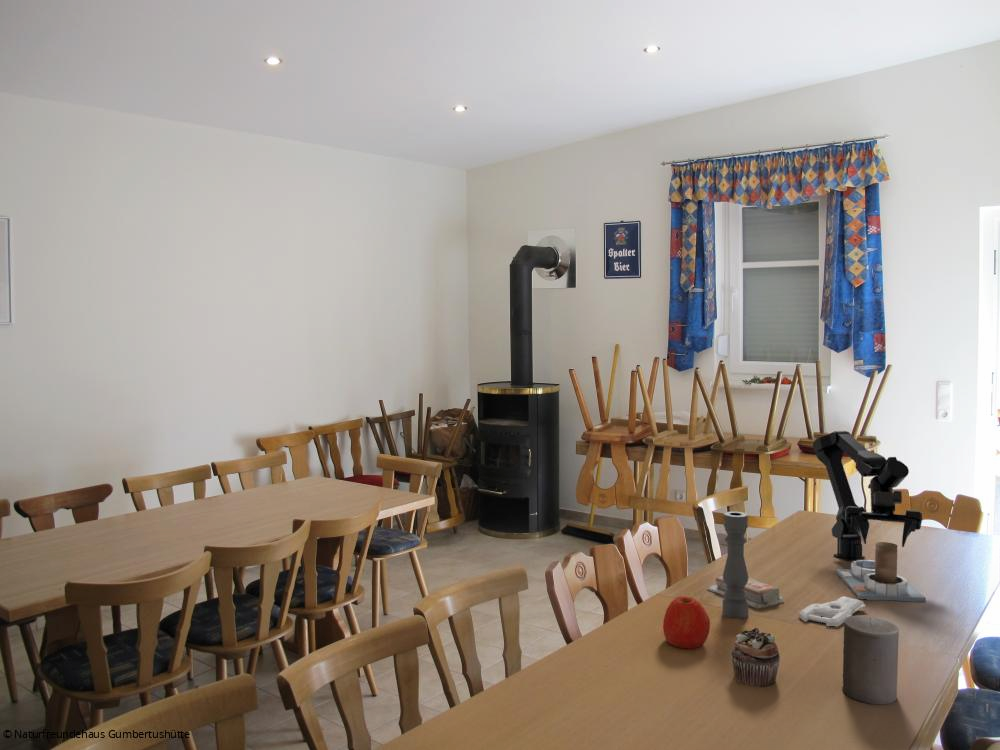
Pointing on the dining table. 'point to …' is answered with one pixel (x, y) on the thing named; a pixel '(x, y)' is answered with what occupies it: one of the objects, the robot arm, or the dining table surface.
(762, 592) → the packaged product
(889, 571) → the walnut peg
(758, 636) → the cupcake
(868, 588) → the socket board
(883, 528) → the dining table surface
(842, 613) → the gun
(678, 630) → the apple
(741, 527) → the candle holder
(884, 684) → the pillar candle
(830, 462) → the robot arm
